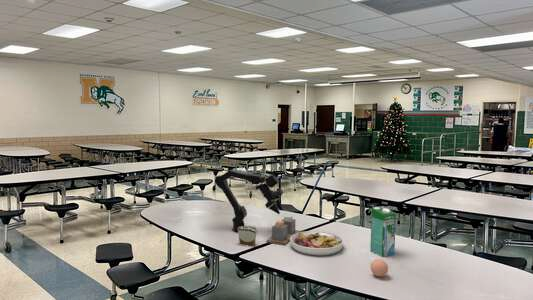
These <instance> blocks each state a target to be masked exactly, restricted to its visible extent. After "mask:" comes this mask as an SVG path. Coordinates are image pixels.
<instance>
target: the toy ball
mask: <svg viewBox="0 0 533 300" xmlns="http://www.w3.org/2000/svg"><path fill="white" fill-rule="evenodd" d="M370 272H371V273H372V274H373V275H374V276H376V277H377V278H378V277H379V278H381V277H382V278H383V277H385V276H386V275H387V274H388V272H389V265H388V263H387V262H386V261H385V260H383V259H380V258H377V259H374V260H373V261H371V263H370Z"/></svg>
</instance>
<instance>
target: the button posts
mask: <svg viewBox="0 0 533 300" xmlns="http://www.w3.org/2000/svg"><path fill="white" fill-rule="evenodd" d="M280 221H284V218H283V219H281V220H280ZM295 230H296V219H295V218H292V221H284V226H283V227H276V223H275V224H274V225H271V237H272V240H277V241H284V240H285V239H287V234H290V235H292V234H293V233H294V232H295Z"/></svg>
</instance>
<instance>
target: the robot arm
mask: <svg viewBox="0 0 533 300" xmlns="http://www.w3.org/2000/svg"><path fill="white" fill-rule="evenodd" d="M230 178H234V179H235V178H236V179H240V180H244V181H248V182H249V183H251V184H253V185H255V191H257V190H259V191H260V192H261V194H262V195H263V196H262V197H263V198H265V199H266V203H265V208H266V209H269V210H271V211H273V212H274V213H276V214H277V215H280V214H281V212H280V211H283V210H284V209H283V206H282V204H281V196H282V195H284V194H283V190H282V189H281V188H280V187H278V188H276V190H273V189H271V188H274V187H276V185H278V184H279V183H280V180H279V178H277V177H276V176H275V175H274V174H273V173H272V174H270V175H269V176H268V177H265V176H263V175H262V174H260V173H259V174H258V173H257V174H256V173H247V172H241V171H238V170H233V169H229V170H227V171H226V172H225V173H223V174H222V175H218V176H217V177H215V179H214V183H215V185H216V186H217V188H219V189H221V190H222V192H223V194H224V195H225V197H226V199H227V201H229V204H230V205H231V206H232V207H231V208H233V213H234V217H233V218H232V220H231V221H232V226H233V227H232V229H231V230H232V231H233V232H235V233H238V231H237V229H238V227H241V226H245V221H244V219H245V218H246V217H247V215H248V212H247V211H248V210H247V209H246V208H245V206H244V205H240V203H239V200H237V197H235V194H233V191H232V190H231V188H230V186H229V183H228V179H230Z"/></svg>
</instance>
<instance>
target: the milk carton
mask: <svg viewBox="0 0 533 300" xmlns="http://www.w3.org/2000/svg"><path fill="white" fill-rule="evenodd" d="M370 217H371V219H370V220H371V222H370V248H369V249H370V252H371V253H373V254H375V255H377V256H379V257H381V258H384V257H387V256H388V257H389V256H392V255H395V251H396V250H395V249H396V248H395V247H396V243H395V242H396V221H397V220H396V219H397V214H396V212H394V211H393V210H391V209H390V208H388V207H386V206H385V205H380V206H374V207H371V216H370Z"/></svg>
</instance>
